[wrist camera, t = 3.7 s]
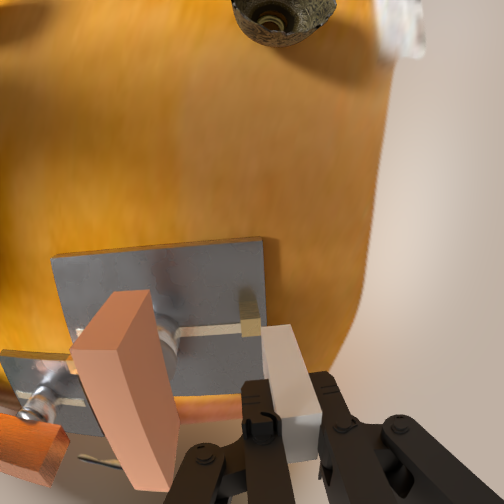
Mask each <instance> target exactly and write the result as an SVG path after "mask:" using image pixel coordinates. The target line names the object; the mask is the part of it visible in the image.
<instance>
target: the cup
mask: <svg viewBox="0 0 504 504" xmlns="http://www.w3.org/2000/svg"><path fill="white" fill-rule="evenodd" d="M231 2H232V7H233V11H234V15H235V18H236V21H237V23H238V25H239V27H240V28H241V30H242V31H243V32H244V33H245V34H246V35H247V36H248V37H249V38H250V39H252V40H253V41H255V42H257V43H259V44H262V45H265V46H270V47H286V46H290V45H293V44H296V43H298V42H300V41H302V40H304V39H305V38H307V37H308V36H309V35H311V34H312V33H313V32H314V31H316V30H317V29H318V28H319V27H320V26H322V25H323V24H325V23H326V22H327V21H328V18H329V17H330V16H331V15H332V14H333V12H334V11H335V9H336V6H337V4H336V1H335V0H231ZM266 22H273V23H275V24H276V25H277V26H278V27H279V31H276V30H273V31H271V30H269V29H267V28H266V27H264V26H263V24H264V23H266Z"/></svg>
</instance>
